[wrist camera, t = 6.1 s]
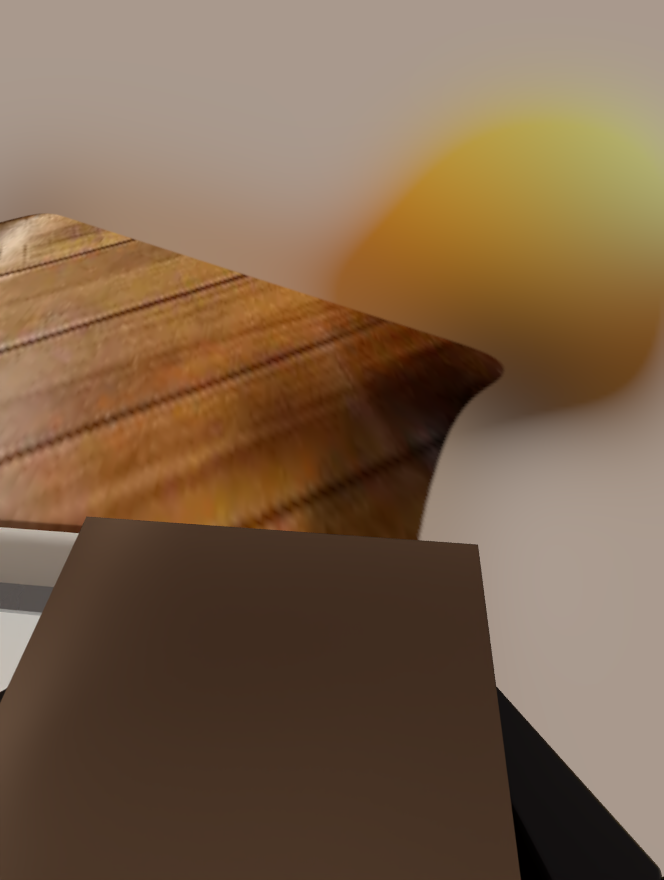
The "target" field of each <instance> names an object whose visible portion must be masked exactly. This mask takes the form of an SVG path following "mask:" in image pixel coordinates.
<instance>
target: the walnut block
mask: <svg viewBox="0 0 664 880" xmlns="http://www.w3.org/2000/svg"><path fill="white" fill-rule="evenodd" d="M0 880H521V877H520V869H519V861H518V854H517V846H516V838H515V830H514V822H513V815H512V807H511V799H510V791H509V783H508V776H507V768H506V760H505V752H504V744H503V737H502V729H501V721H500V713H499V705H498V698H497V690H496V682H495V674H494V667H493V660H492V651H491V644H490V635H489V627H488V620H487V612H486V604H485V596H484V588H483V581H482V573H481V565H480V557H479V550H478V545H475V544H462V543H447V542H434V541H420V540H406V539H392V538H378V537H364V536H350V535H336V534H322V533H308V532H294V531H280V530H266V529H252V528H238V527H224V526H210V525H196V524H182V523H168V522H154V521H140V520H126V519H112V518H98V517H86V519H85V521H84V523H83V525H82V528H81V530H80V532H79V534H78V536H77V538H76V541H75V543H74V545H73V547H72V549H71V551H70V553H69V556H68V558H67V560H66V562H65V564H64V566H63V569H62V571H61V573H60V575H59V577H58V579H57V581H56V584H55V586H54V588H53V590H52V592H51V594H50V597H49V599H48V601H47V603H46V605H45V607H44V610H43V612H42V614H41V616H40V618H39V620H38V622H37V625H36V627H35V629H34V631H33V633H32V635H31V638H30V640H29V642H28V644H27V646H26V648H25V650H24V653H23V655H22V657H21V659H20V661H19V663H18V666H17V668H16V670H15V672H14V674H13V676H12V679H11V681H10V683H9V685H8V687H7V689H6V691H5V694H4V696H3V698H2V700H1V702H0Z"/></svg>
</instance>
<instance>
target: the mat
mask: <svg viewBox="0 0 664 880" xmlns="http://www.w3.org/2000/svg"><path fill="white" fill-rule="evenodd" d="M78 534H79V533H69V532H56V531H42V530H29V529H16V528H3V527H0V582H2V583H14V584H25V585H36V586H47V587H54V586H55V584H56V581H57V579H58V577H59V575H60V573H61V571H62V569H63V566H64V564H65V562H66V560H67V558H68V556H69V553H70V551H71V549H72V547H73V545H74V543H75V541H76V538H77V536H78ZM39 618H40V616H38V615H28V614H17V613H7V612H0V692H1V691H3V690H4V689H6V688H7V687H8V685H9V683H10V681H11V679H12V676H13V674H14V672H15V670H16V668H17V666H18V663H19V661H20V659H21V657H22V655H23V653H24V650H25V648H26V646H27V644H28V642H29V640H30V638H31V635H32V633H33V631H34V629H35V627H36V625H37V622H38V620H39Z"/></svg>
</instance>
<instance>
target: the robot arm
mask: <svg viewBox="0 0 664 880" xmlns="http://www.w3.org/2000/svg"><path fill="white" fill-rule="evenodd" d="M6 689H7V688H6ZM6 689H4V690H3V691H1V692H0V702H1V700H2V698H3V696H4V694H5V691H6ZM496 690H497V698H498V705H499V713H500V721H501V729H502V737H503V744H504V752H505V760H506V768H507V776H508V783H509V791H510V799H511V807H512V815H513V822H514V830H515V838H516V846H517V854H518V861H519V869H520V877H521V880H664V877H662V875H661V871H660V868H659V867H658V866H657V865H656V864H655V862H654V861H653V860H652V859H651V858H650V857H649V856H648V855H647V854H646V853H645V851H644V850H643V849H642V848H641V847H640V846H639V845H638V844H637V842H636V841H635V840H634V839H633V838H632V837H631V836H630V835H629V834H628V832H627V831H626V830H625V829H624V828H623V827H622V826H621V825H620V824H619V822H618V821H617V820H616V819H615V818H614V817H613V816H612V815H611V813H609V811H608V810H607V809H606V808H605V807H604V806H603V805H602V803H601V802H599V800H598V799H597V798H596V797H595V796H594V795H593V794H592V792H591V791H590V790H589V789H588V788H587V787H586V786H585V785H584V784H583V782H582V781H581V780H580V779H579V778H578V777H577V776H576V775H575V773H574V772H573V771H572V770H571V769H570V768H569V767H568V766H567V765H566V763H565V762H564V761H563V760H562V759H561V758H560V757H559V756H558V755H557V753H556V752H555V751H554V750H553V749H552V748H551V747H550V746H549V745H548V744H547V742H546V741H545V740H544V739H543V738H542V737H541V736H540V735H539V733H538V732H537V731H536V730H535V729H534V728H533V727H532V726H531V725H530V723H529V722H528V721H527V720H526V719H525V718H524V717H523V716H522V715H521V713H520V712H519V711H518V710H517V709H516V708H515V707H514V706H513V705H512V703H511V702H510V701H509V700H508V699H507V698H506V697H505V696H504V694H503V693H502V692H501V691H500V690H499V689H498V688H497V687H496Z"/></svg>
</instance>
